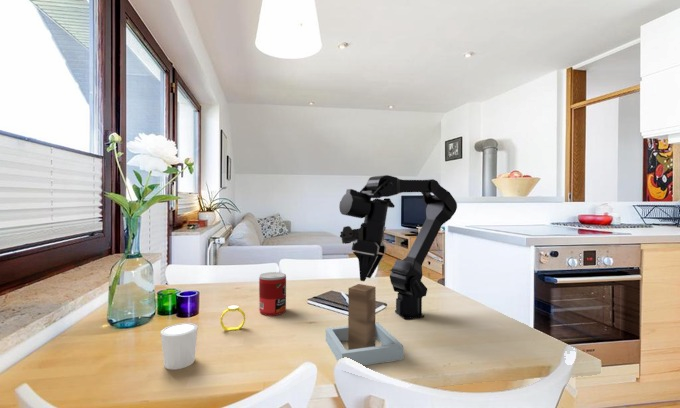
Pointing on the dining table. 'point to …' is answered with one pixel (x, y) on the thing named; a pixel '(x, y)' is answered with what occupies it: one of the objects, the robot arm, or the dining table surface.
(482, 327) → the dining table surface
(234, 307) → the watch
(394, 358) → the frame
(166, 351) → the white cup
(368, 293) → the tall wooden post
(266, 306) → the canned food
